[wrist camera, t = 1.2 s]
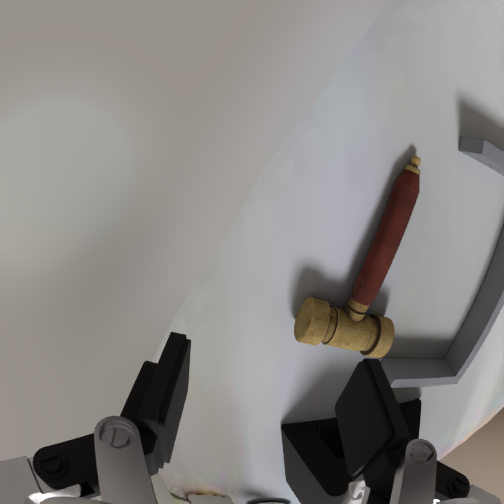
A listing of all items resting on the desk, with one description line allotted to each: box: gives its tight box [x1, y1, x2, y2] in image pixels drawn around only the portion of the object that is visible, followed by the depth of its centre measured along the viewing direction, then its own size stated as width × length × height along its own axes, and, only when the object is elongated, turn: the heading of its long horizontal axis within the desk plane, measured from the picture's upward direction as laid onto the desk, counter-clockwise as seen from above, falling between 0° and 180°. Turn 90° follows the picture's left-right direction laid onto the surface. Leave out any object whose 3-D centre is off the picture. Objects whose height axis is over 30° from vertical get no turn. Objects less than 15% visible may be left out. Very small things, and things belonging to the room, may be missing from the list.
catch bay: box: [381, 137, 504, 388], centre depth 26 cm, size 12×29×4 cm, turn 170°
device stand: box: [281, 399, 421, 504], centre depth 34 cm, size 22×22×15 cm
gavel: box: [294, 156, 420, 358], centre depth 26 cm, size 21×5×10 cm
